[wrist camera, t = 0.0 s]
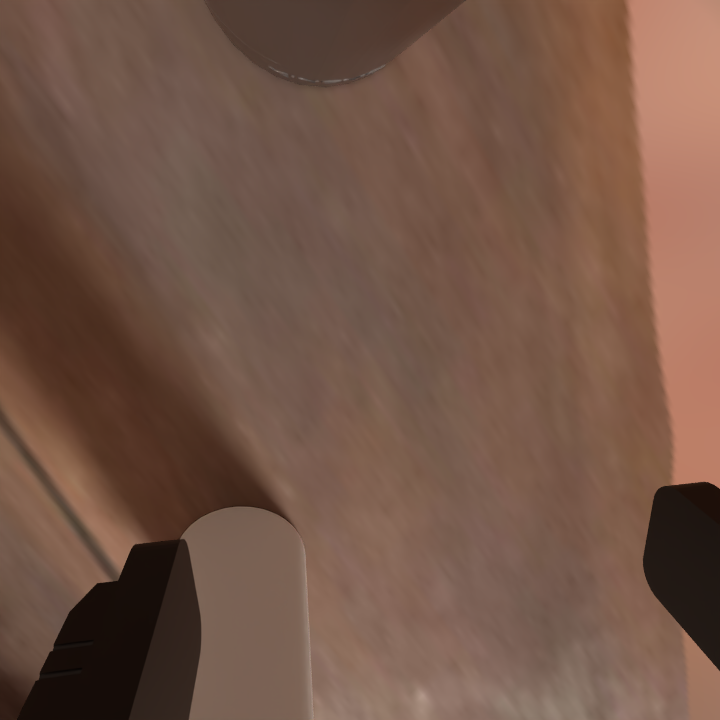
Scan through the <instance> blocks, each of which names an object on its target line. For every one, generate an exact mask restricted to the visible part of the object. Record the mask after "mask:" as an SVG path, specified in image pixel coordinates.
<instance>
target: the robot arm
mask: <svg viewBox="0 0 720 720" xmlns="http://www.w3.org/2000/svg"><path fill="white" fill-rule="evenodd" d="M204 1H205V3H206V4H207V6H208V8H209V10H210V12H211V14H212V15H213V17H214V19H215V21H216V22H217V23H218V25H219V26H220V27H221V29H222V30H223V31H224V33H225V34H226V35H227V37H228V38H229V39H230V41H231V42H232V43H233V45H234V46H236V47H237V48H238V49H239V50H240V51H241V52H242V53H243V54H244V55H245V56H247V57H248V58H249V59H250V60H251V61H252V62H253V63H254V64H256V65H258V66H259V67H261V68H263V69H264V70H266V71H268V72H269V73H271V74H273V75H274V76H276V77H279V78H282V79H285V80H288V81H291V82H294V83H297V84H300V85H308V86H319V87H329V86H336V85H343V84H349V83H351V82H354V81H356V80H359V79H362V78H364V77H367V76H369V75H371V74H373V73H374V72H376V71H377V70H379V69H381V68H383V67H385V66H386V64H387V63H389V62H390V61H391V60H393V59H394V58H395V57H396V56H398V55H399V54H400V53H401V52H403V51H404V50H405V49H407V48H408V47H409V46H410V45H412V44H413V43H414V42H415V41H417V40H418V39H419V38H420V37H422V36H423V35H424V34H425V33H426V32H428V31H429V30H430V29H431V28H433V27H434V26H435V25H436V24H437V23H439V22H440V21H441V20H442V19H444V18H445V17H446V16H447V15H448V14H450V13H451V12H452V11H453V10H455V9H456V8H457V7H458V6H459V5H461V4H462V3H463V2H464V1H466V0H204ZM643 567H644V573H645V576H646V580H647V582H648V584H649V587H650V588H651V590H652V592H653V594H654V595H655V596H656V598H657V599H658V600H659V601H660V602H661V603H662V605H663V606H664V607H665V608H666V609H667V610H668V612H669V613H670V614H671V615H672V616H673V617H674V619H675V620H676V621H677V622H678V623H679V624H680V625H681V627H682V628H683V629H684V630H685V631H686V632H687V633H688V635H689V636H690V637H691V638H692V639H693V641H694V642H695V643H696V644H697V645H698V646H699V647H700V649H701V650H702V651H703V652H704V653H705V654H706V656H707V657H708V658H709V659H710V660H711V661H712V663H713V664H714V665H715V666H716V667H717V668H718V669H719V671H720V489H719V488H718V487H716V486H715V485H713V484H710V483H708V482H698V483H690V484H680V485H671V486H663V487H661V488H659V489H658V490H657V492H656V493H655V496H654V500H653V505H652V511H651V516H650V522H649V528H648V533H647V539H646V545H645V550H644V556H643ZM200 651H201V616H200V609H199V604H198V598H197V592H196V587H195V581H194V576H193V570H192V565H191V559H190V554H189V549H188V545H187V542H186V541H185V539H178V540H169V541H160V542H151V543H143V544H135V545H134V546H133V547H132V549H131V551H130V553H129V556H128V558H127V560H126V563H125V565H124V568H123V570H122V573H121V575H120V578H119V580H118V581H113V582H105V583H97V584H96V585H95V586H94V587H93V588H92V589H91V590H90V591H89V592H88V593H87V594H86V596H85V597H84V598H83V599H82V600H81V601H80V602H79V603H78V604H77V605H76V606H75V607H74V608H73V609H72V610H71V611H70V612H69V614H68V616H67V618H66V620H65V622H64V624H63V626H62V628H61V631H60V633H59V635H58V637H57V639H56V641H55V643H54V649H53V651H51V652H50V653H49V655H48V657H47V659H46V661H45V663H44V665H43V667H42V669H41V671H40V678H39V681H36V682H35V684H34V686H33V688H32V690H31V692H30V694H29V696H28V698H27V700H26V702H25V704H24V706H23V708H22V710H21V712H20V714H19V716H18V718H17V720H189V715H190V709H191V704H192V698H193V693H194V687H195V681H196V676H197V670H198V664H199V659H200Z"/></svg>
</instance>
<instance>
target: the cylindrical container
mask: <svg viewBox="0 0 720 720" xmlns="http://www.w3.org/2000/svg"><path fill="white" fill-rule="evenodd" d="M180 539H185V541H186V542H187V545H188V549H189V554H190V559H191V565H192V570H193V576H194V581H195V587H196V592H197V598H198V604H199V609H200V616H201V651H200V659H199V664H198V670H197V676H196V681H195V687H194V693H193V698H192V704H191V709H190V715H189V720H314V716H313V696H312V676H311V656H310V636H309V616H308V596H307V576H306V556H305V549H304V544H303V541H302V539H301V537H300V535H299V533H298V532H297V530H296V529H295V528H294V527H293V526H292V525H291V524H290V523H289V522H288V521H287V520H285V519H284V518H282V517H281V516H279V515H277V514H275V513H273V512H270V511H267V510H265V509H260V508H255V507H240V506H237V507H230V508H223V509H220V510H217V511H214V512H211V513H209V514H207V515H205V516H203V517H201V518H199V519H198V520H197V521H195V522H194V523H193V524H191V525H190V526H189V527H188V529H187V530H186V531H185V532H184V533H183V534H182V536H181V538H180Z"/></svg>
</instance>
